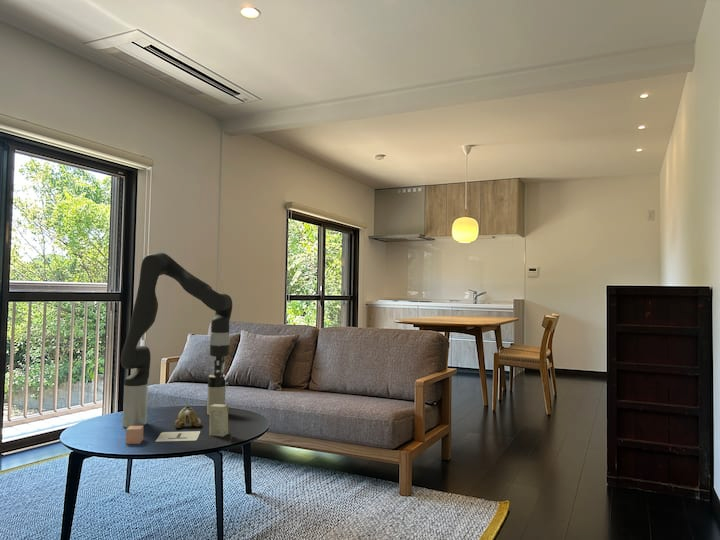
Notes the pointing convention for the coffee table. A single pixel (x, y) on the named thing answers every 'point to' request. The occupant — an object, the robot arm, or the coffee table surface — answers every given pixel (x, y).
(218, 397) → the travel mug
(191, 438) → the letter mat
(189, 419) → the ceramic sculpture
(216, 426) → the skincare box
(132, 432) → the terracotta block
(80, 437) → the coffee table surface
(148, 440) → the coffee table surface
